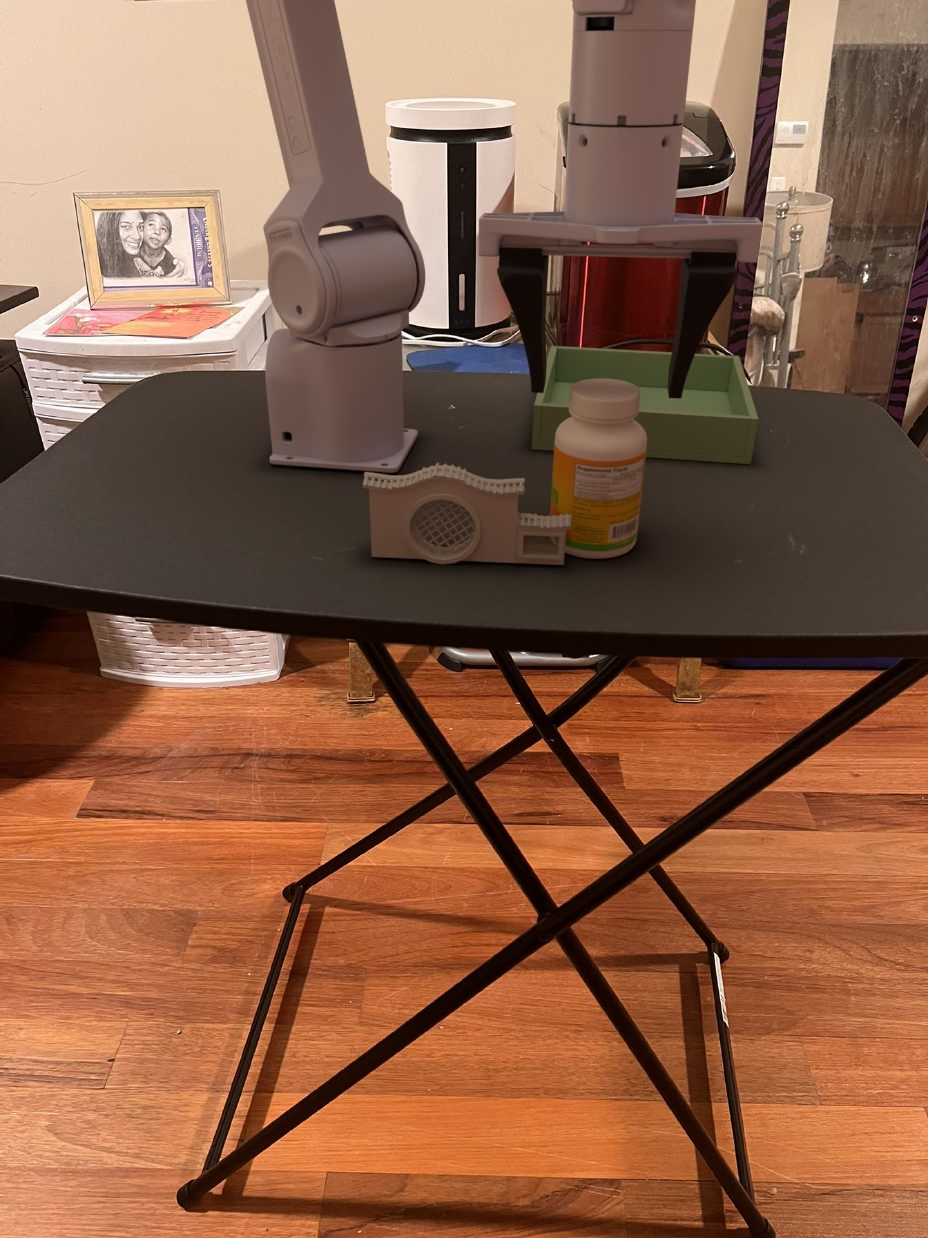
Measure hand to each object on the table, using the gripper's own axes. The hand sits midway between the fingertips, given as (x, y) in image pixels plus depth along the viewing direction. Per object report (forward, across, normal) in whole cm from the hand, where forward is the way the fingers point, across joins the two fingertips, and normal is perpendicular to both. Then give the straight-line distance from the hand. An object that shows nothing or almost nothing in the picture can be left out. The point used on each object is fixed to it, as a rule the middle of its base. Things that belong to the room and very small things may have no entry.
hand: (605, 390), depth 55 cm
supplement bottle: (+10, 0, 0) cm, 10 cm away
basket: (+9, +3, +23) cm, 25 cm away
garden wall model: (+10, -8, -4) cm, 13 cm away
